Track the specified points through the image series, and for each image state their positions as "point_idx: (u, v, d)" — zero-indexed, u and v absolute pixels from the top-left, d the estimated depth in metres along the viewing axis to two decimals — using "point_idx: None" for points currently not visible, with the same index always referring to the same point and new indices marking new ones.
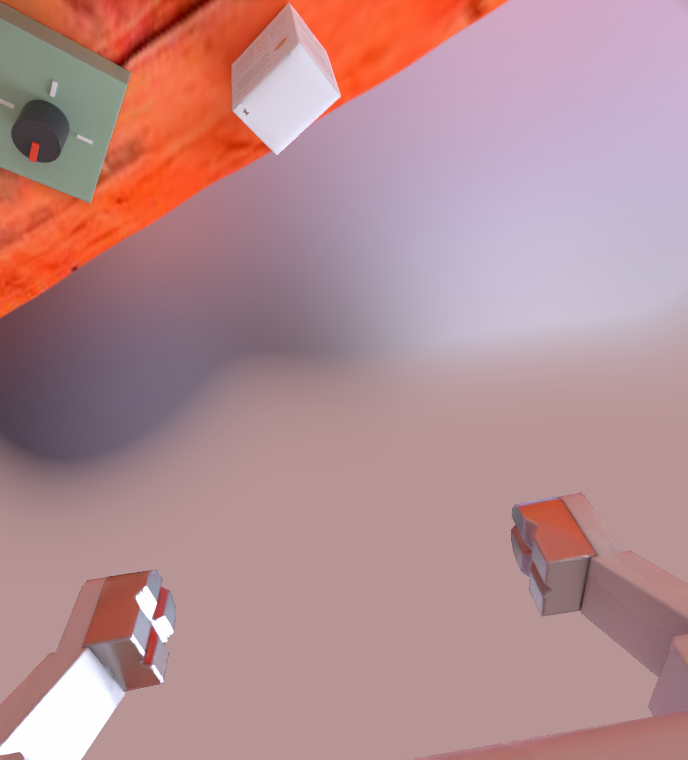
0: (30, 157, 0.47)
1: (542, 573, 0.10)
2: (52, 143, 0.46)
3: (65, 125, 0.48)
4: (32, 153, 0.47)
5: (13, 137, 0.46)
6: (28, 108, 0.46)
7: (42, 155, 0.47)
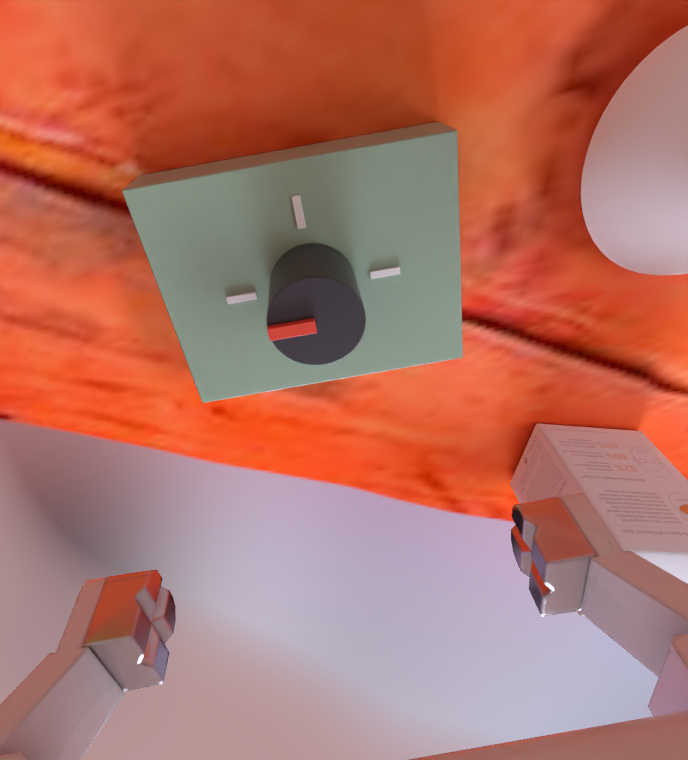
0: (276, 329, 0.20)
1: (542, 573, 0.10)
2: (333, 346, 0.21)
3: None
4: (289, 329, 0.20)
5: (294, 285, 0.19)
6: (341, 263, 0.22)
7: (293, 342, 0.21)
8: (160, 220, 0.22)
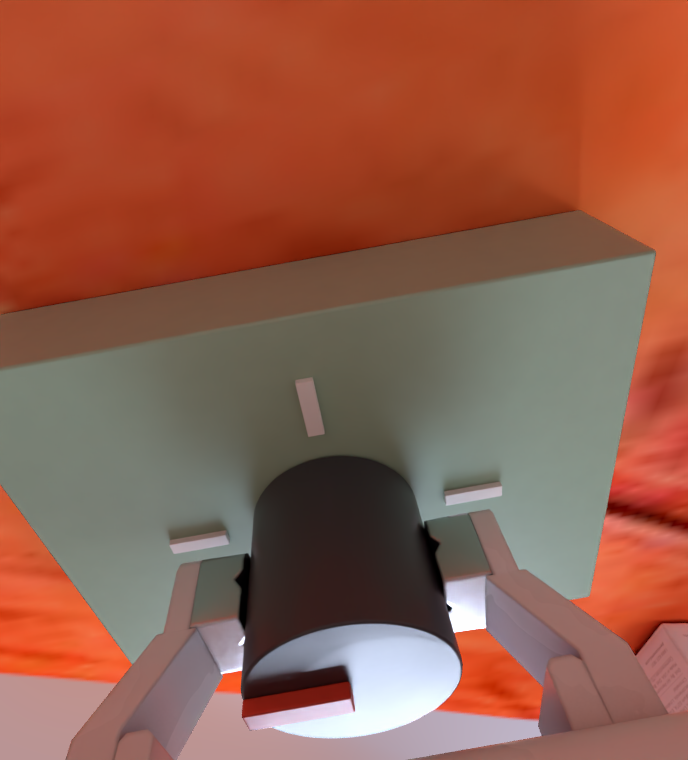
0: (263, 716, 0.09)
1: (442, 591, 0.10)
2: (387, 713, 0.10)
3: None
4: (292, 714, 0.09)
5: (306, 640, 0.08)
6: (401, 520, 0.10)
7: None
8: (19, 430, 0.10)
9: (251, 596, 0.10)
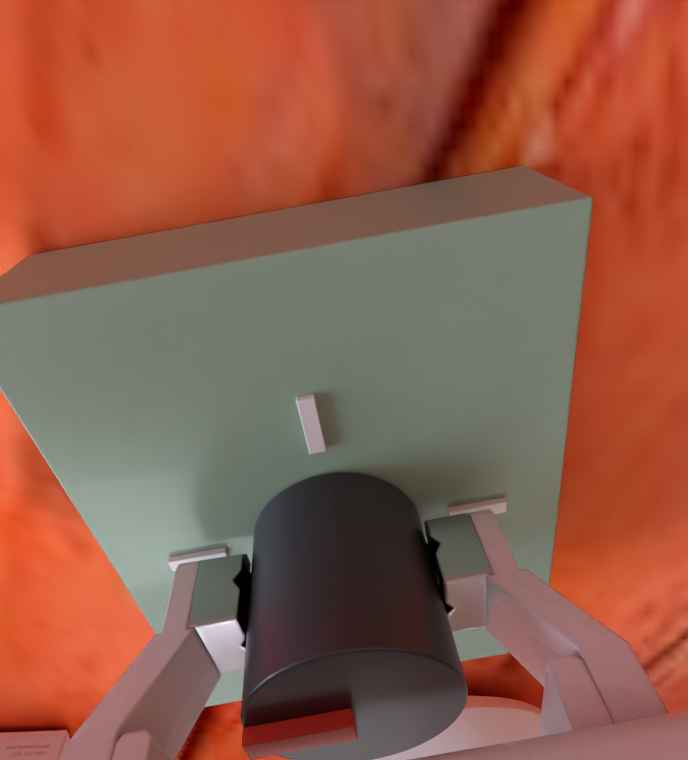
0: (263, 744, 0.09)
1: (442, 591, 0.10)
2: (391, 738, 0.10)
3: None
4: (293, 743, 0.09)
5: (306, 668, 0.08)
6: (403, 540, 0.10)
7: None
8: (508, 274, 0.09)
9: (251, 619, 0.10)
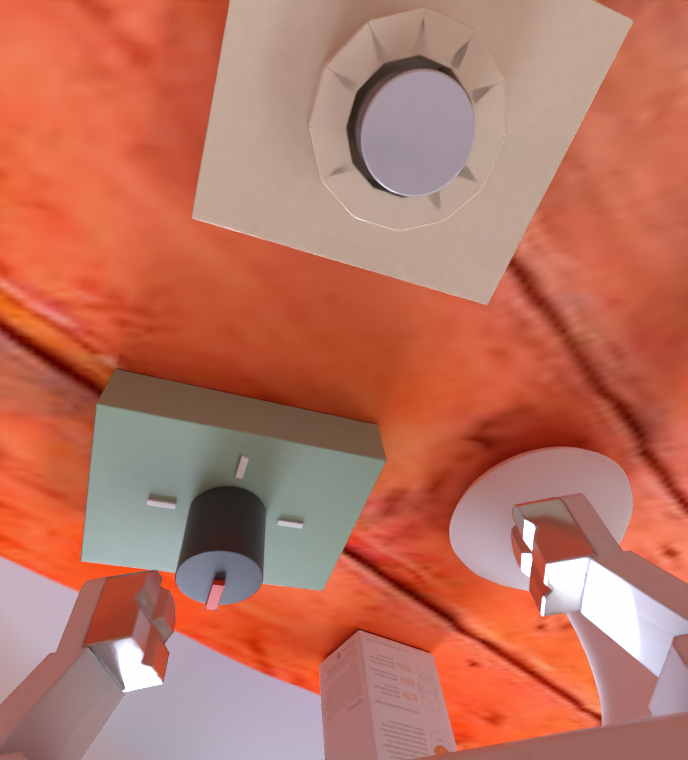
0: (208, 604, 0.24)
1: (542, 573, 0.10)
2: (247, 575, 0.24)
3: (262, 520, 0.26)
4: (212, 599, 0.24)
5: (179, 581, 0.23)
6: (201, 514, 0.24)
7: (229, 594, 0.24)
8: (119, 432, 0.23)
9: None
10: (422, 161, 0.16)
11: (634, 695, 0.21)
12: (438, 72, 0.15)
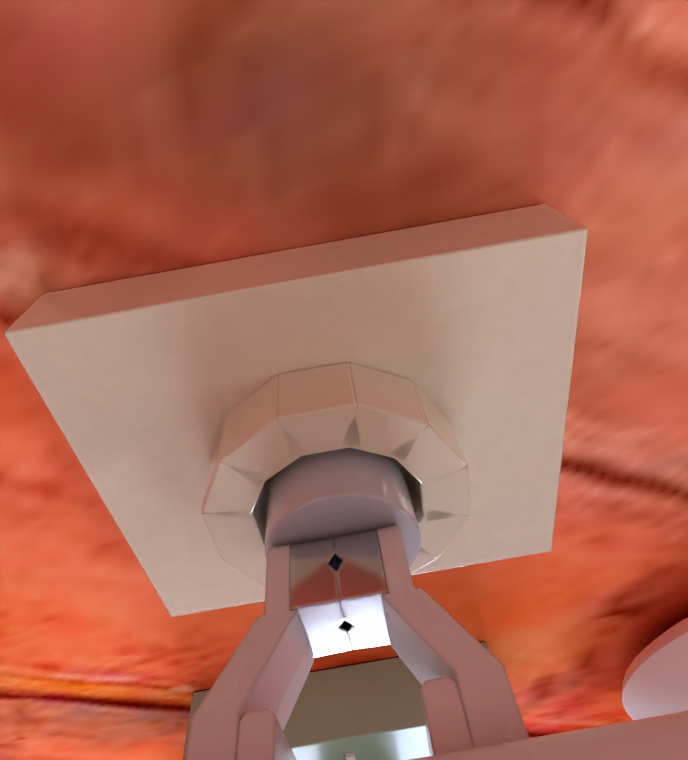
0: None
1: None
2: None
3: None
4: None
5: None
6: None
7: None
8: None
9: None
10: None
11: None
12: (325, 498, 0.11)
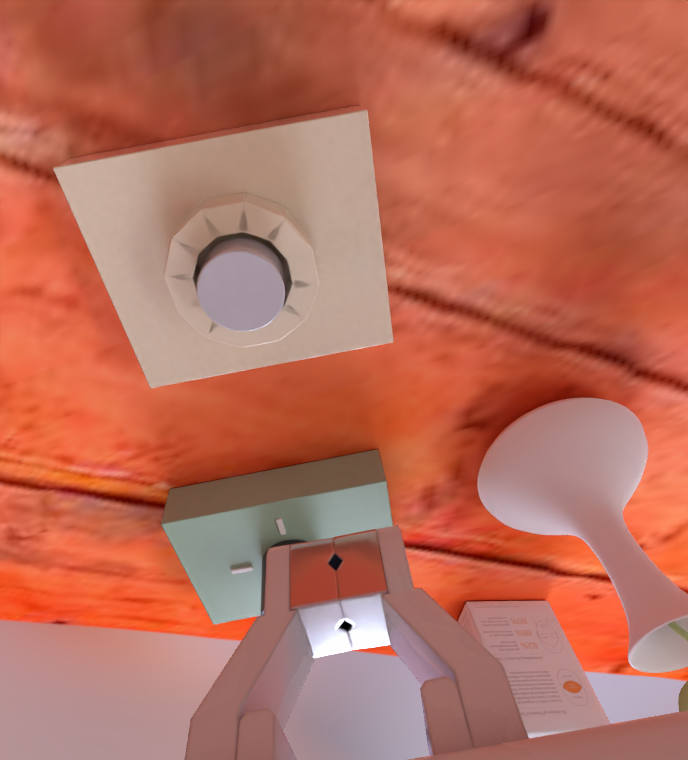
0: None
1: None
2: None
3: None
4: None
5: None
6: None
7: None
8: (186, 536, 0.32)
9: None
10: (254, 305, 0.21)
11: (642, 614, 0.24)
12: (226, 252, 0.20)
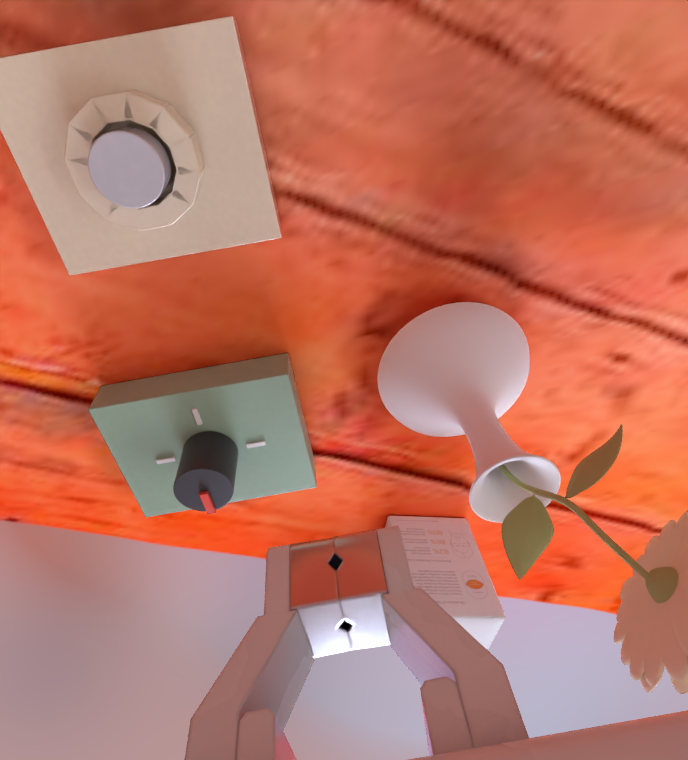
0: (207, 510, 0.35)
1: None
2: (218, 482, 0.34)
3: (227, 446, 0.36)
4: (206, 505, 0.35)
5: (180, 500, 0.35)
6: (182, 455, 0.36)
7: (217, 500, 0.35)
8: (112, 423, 0.36)
9: None
10: (138, 182, 0.25)
11: (482, 465, 0.28)
12: (109, 132, 0.24)
